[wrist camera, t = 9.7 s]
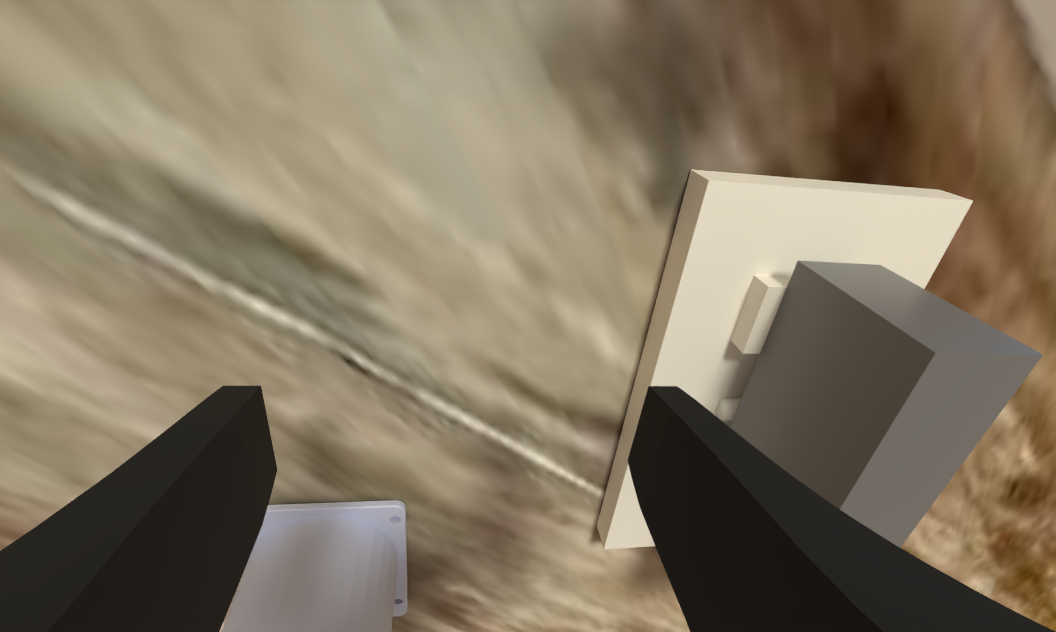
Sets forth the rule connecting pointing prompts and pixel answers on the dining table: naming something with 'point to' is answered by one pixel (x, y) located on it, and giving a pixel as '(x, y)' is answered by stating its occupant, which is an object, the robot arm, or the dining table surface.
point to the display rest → (758, 287)
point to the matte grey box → (875, 391)
